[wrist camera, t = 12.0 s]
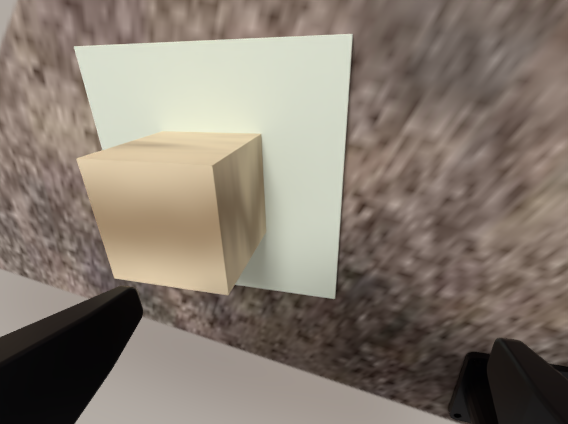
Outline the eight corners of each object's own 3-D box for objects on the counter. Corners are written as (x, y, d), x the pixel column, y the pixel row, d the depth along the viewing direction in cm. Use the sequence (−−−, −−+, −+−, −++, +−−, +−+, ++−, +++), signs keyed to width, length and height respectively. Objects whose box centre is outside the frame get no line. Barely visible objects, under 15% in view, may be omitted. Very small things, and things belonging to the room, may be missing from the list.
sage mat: (335, 291, 21) (334, 299, 20) (142, 264, 24) (135, 270, 23) (352, 35, 14) (352, 34, 13) (85, 47, 17) (73, 46, 17)
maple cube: (266, 231, 19) (228, 295, 14) (179, 223, 20) (114, 278, 15) (261, 133, 16) (212, 165, 11) (162, 131, 18) (76, 158, 12)
